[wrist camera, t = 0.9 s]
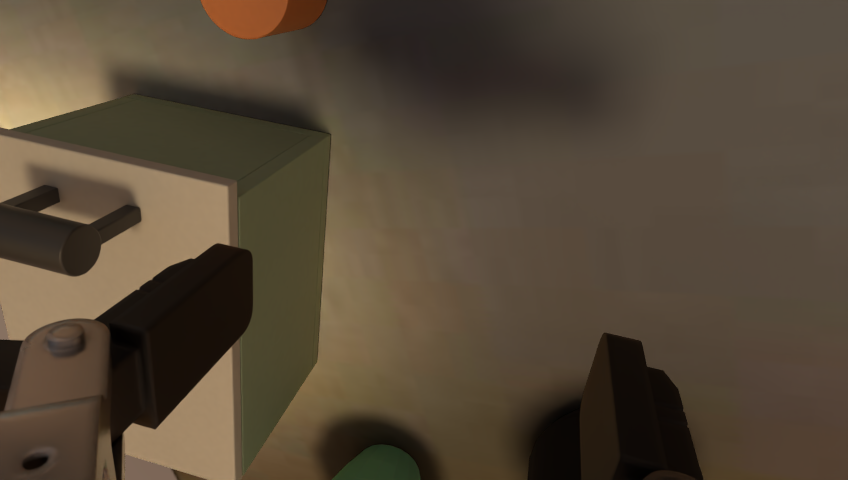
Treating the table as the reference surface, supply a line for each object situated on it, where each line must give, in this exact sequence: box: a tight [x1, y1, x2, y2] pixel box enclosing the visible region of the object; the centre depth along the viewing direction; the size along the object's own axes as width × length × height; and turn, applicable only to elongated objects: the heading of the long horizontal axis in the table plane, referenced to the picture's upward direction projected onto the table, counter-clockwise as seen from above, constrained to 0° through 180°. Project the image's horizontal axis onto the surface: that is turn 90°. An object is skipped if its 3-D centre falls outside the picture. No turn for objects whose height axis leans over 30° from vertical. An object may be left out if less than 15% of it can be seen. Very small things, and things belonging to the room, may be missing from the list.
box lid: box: [0, 128, 242, 480], centre depth 26 cm, size 18×13×5 cm
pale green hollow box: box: [10, 94, 331, 476], centre depth 33 cm, size 17×13×10 cm
